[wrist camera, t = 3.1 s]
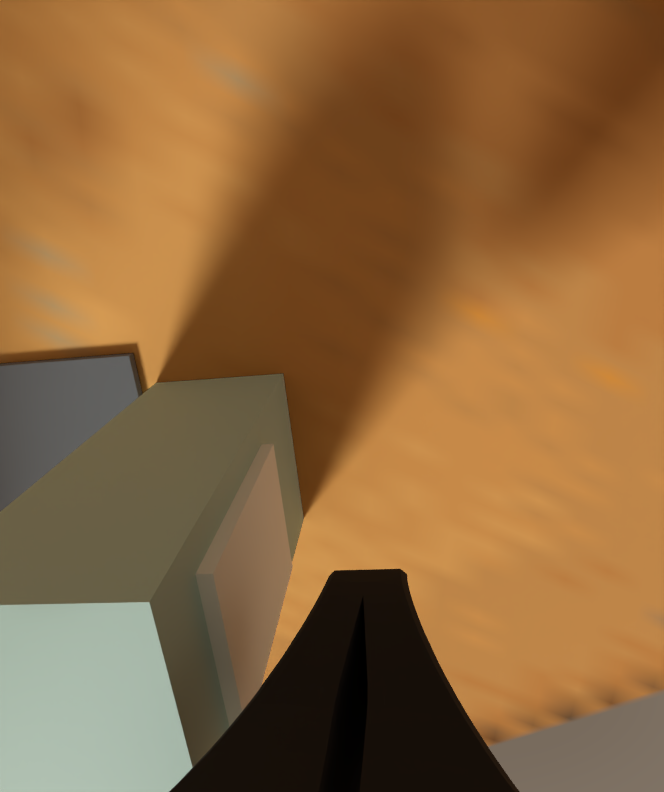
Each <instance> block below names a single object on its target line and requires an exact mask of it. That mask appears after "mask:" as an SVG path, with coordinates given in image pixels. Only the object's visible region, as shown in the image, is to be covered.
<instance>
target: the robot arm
mask: <svg viewBox="0 0 664 792" xmlns="http://www.w3.org/2000/svg"><path fill="white" fill-rule="evenodd" d="M169 792H519V791H518V789H517V788H516V787H515V785H514V784H513V783H512V781H511V780H510V778H509V777H508V775H507V774H506V773H505V771H504V770H503V768H502V767H501V765H500V764H499V762H498V761H497V760H496V758H495V757H494V755H493V754H492V752H491V751H490V749H489V748H488V746H487V745H486V743H485V742H484V740H483V739H482V737H481V736H480V734H479V732H478V731H477V729H476V728H475V726H474V725H473V723H472V721H471V720H470V718H469V717H468V715H467V713H466V712H465V710H464V708H463V706H462V705H461V703H460V701H459V700H458V698H457V696H456V694H455V692H454V691H453V689H452V687H451V685H450V683H449V682H448V680H447V678H446V676H445V674H444V672H443V670H442V668H441V666H440V664H439V663H438V661H437V659H436V656H435V654H434V652H433V650H432V648H431V646H430V643H429V641H428V639H427V637H426V635H425V633H424V630H423V628H422V626H421V623H420V621H419V618H418V615H417V613H416V610H415V607H414V604H413V601H412V598H411V595H410V591H409V586H408V581H407V574H406V573H405V572H403V571H402V570H401V569H380V570H341V571H334V572H333V573H332V574H331V575H330V576H329V578H328V580H327V582H326V584H325V586H324V588H323V590H322V592H321V594H320V596H319V598H318V599H317V601H316V603H315V605H314V607H313V608H312V610H311V612H310V614H309V615H308V617H307V619H306V620H305V622H304V624H303V625H302V627H301V629H300V630H299V632H298V633H297V635H296V636H295V638H294V640H293V641H292V643H291V644H290V646H289V647H288V649H287V651H286V652H285V654H284V655H283V657H282V658H281V660H280V661H279V662H278V664H277V665H276V667H275V668H274V669H273V671H272V672H271V674H270V675H269V676H268V678H267V679H266V680H265V682H264V683H263V685H262V686H261V687H260V689H259V690H258V692H257V693H256V694H255V696H254V697H253V698H252V699H251V701H250V702H249V703H248V705H247V706H246V707H245V708H244V710H243V711H242V712H241V713H240V715H239V716H238V717H237V718H236V719H235V721H234V722H233V723H232V724H231V725H230V727H229V728H228V729H227V730H226V731H225V732H224V734H223V735H222V736H221V737H220V738H219V739H218V741H217V742H216V743H215V744H214V745H213V746H212V747H211V748H210V749H209V751H208V752H207V753H206V754H205V755H204V756H203V757H202V758H201V759H200V760H199V761H198V762H197V763H196V764H195V765H194V767H193V768H192V769H191V770H190V771H189V772H188V773H187V774H186V775H185V776H184V777H183V778H182V779H181V780H180V781H179V782H178V783H177V784H176V785H175V786H174V787H173V788H172V789H171V790H170V791H169Z"/></svg>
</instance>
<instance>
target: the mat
mask: <svg viewBox="0 0 664 792" xmlns="http://www.w3.org/2000/svg"><path fill="white" fill-rule="evenodd" d="M141 395H142V389H141V385H140V381H139V376H138V372H137V368H136V363H135V359H134V355H133V353H127V354H115V355H102V356H90V357H77V358H65V359H52V360H40V361H27V362H15V363H2V364H0V512H1V511H2V510H3V509H4V508H5V507H7V506H8V505H9V504H10V503H11V502H13V501H14V500H15V499H16V498H18V497H19V496H20V495H21V494H22V493H24V492H25V491H26V490H27V489H28V488H30V487H31V486H32V485H33V484H34V483H36V482H37V481H38V480H39V479H40V478H42V477H43V476H44V475H45V474H47V473H48V472H49V471H50V470H51V469H53V468H54V467H55V466H56V465H57V464H59V463H60V462H61V461H62V460H63V459H65V458H66V457H67V456H68V455H69V454H71V453H72V452H73V451H74V450H76V449H77V448H78V447H79V446H80V445H82V444H83V443H84V442H85V441H86V440H88V439H89V438H90V437H91V436H92V435H94V434H95V433H96V432H97V431H98V430H100V429H101V428H102V427H103V426H105V425H106V424H107V423H108V422H109V421H111V420H112V419H113V418H114V417H115V416H117V415H118V414H119V413H120V412H121V411H123V410H124V409H125V408H126V407H127V406H129V405H130V404H131V403H132V402H134V401H135V400H136V399H137V398H138V397H140V396H141Z"/></svg>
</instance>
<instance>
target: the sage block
mask: <svg viewBox="0 0 664 792" xmlns="http://www.w3.org/2000/svg"><path fill="white" fill-rule="evenodd" d="M303 519H304V516H303V509H302V502H301V495H300V488H299V481H298V474H297V467H296V460H295V453H294V446H293V439H292V432H291V425H290V417H289V410H288V403H287V396H286V389H285V382H284V375H283V374H270V375H256V376H242V377H229V378H215V379H201V380H187V381H174V382H160V383H155V384H154V385H153V386H152V387H150V388H149V389H148V390H147V391H146V392H144V393H143V394H142V395H141V396H140V397H138V398H137V399H136V400H135V401H134V402H132V403H131V404H130V405H129V406H127V407H126V408H125V409H124V410H123V411H121V412H120V413H119V414H118V415H117V416H115V417H114V418H113V419H112V420H111V421H109V422H108V423H107V424H106V425H105V426H103V427H102V428H101V429H100V430H98V431H97V432H96V433H95V434H94V435H92V436H91V437H90V438H89V439H88V440H86V441H85V442H84V443H83V444H82V445H80V446H79V447H78V448H77V449H76V450H74V451H73V452H72V453H71V454H69V455H68V456H67V457H66V458H65V459H63V460H62V461H61V462H60V463H59V464H57V465H56V466H55V467H54V468H53V469H51V470H50V471H49V472H48V473H47V474H45V475H44V476H43V477H42V478H40V479H39V480H38V481H37V482H36V483H34V484H33V485H32V486H31V487H30V488H28V489H27V490H26V491H25V492H24V493H22V494H21V495H20V496H19V497H18V498H16V499H15V500H14V501H13V502H11V503H10V504H9V505H8V506H7V507H5V508H4V509H3V510H2V511H1V512H0V792H169V791H170V790H171V789H172V788H173V787H174V786H175V785H176V784H177V783H178V782H179V781H180V780H181V779H182V778H183V777H184V776H185V775H186V774H187V773H188V772H189V771H190V770H191V769H192V768H193V767H194V765H195V764H196V763H197V762H198V761H199V760H200V759H201V758H202V757H203V756H204V755H205V754H206V753H207V752H208V751H209V749H210V748H211V747H212V746H213V745H214V744H215V743H216V742H217V741H218V739H219V738H220V737H221V736H222V735H223V734H224V732H225V731H226V730H227V729H228V728H229V727H230V725H231V724H232V723H233V722H234V721H235V719H236V718H237V717H238V716H239V715H240V713H241V712H242V711H243V710H244V708H245V707H246V706H247V705H248V703H249V702H250V701H251V699H252V698H253V697H254V696H255V694H256V693H257V692H258V690H259V689H260V687H261V684H262V681H263V677H264V673H265V669H266V665H267V662H268V658H269V654H270V650H271V646H272V643H273V639H274V635H275V631H276V628H277V624H278V620H279V616H280V612H281V609H282V605H283V601H284V597H285V593H286V590H287V586H288V582H289V578H290V574H291V571H292V561H293V557H294V553H295V549H296V546H297V542H298V538H299V534H300V531H301V527H302V523H303Z"/></svg>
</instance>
